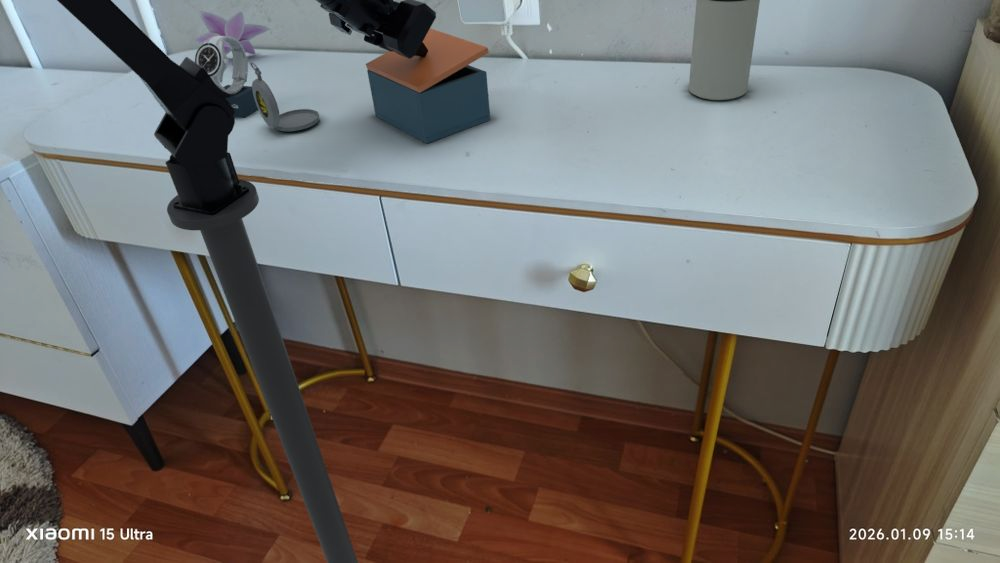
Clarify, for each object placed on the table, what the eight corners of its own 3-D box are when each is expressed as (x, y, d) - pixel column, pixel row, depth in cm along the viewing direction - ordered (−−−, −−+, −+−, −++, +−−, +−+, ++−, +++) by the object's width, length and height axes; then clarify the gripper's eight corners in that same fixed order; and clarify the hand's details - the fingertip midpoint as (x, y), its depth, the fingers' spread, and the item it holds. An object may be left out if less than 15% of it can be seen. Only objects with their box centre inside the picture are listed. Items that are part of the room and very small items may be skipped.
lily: (286, 61, 127) (269, 9, 126) (247, 55, 116) (227, -2, 115) (235, 82, 131) (217, 32, 130) (192, 79, 120) (172, 23, 118)
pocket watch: (329, 116, 100) (313, 47, 95) (297, 141, 94) (278, 68, 88) (281, 113, 103) (263, 46, 97) (247, 136, 97) (226, 66, 91)
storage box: (436, 95, 104) (430, 50, 100) (490, 120, 95) (486, 71, 91) (375, 116, 99) (366, 69, 95) (426, 143, 90) (419, 93, 86)
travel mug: (712, 106, 94) (728, -37, 83) (677, 88, 100) (687, -47, 89) (759, 93, 96) (780, -47, 85) (721, 77, 102) (737, -56, 91)
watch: (206, 119, 103) (181, 45, 97) (240, 100, 109) (219, 29, 103) (237, 122, 101) (213, 47, 95) (269, 102, 107) (249, 30, 101)
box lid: (432, 33, 99) (430, 28, 99) (489, 52, 90) (487, 47, 90) (367, 69, 95) (365, 63, 95) (419, 93, 86) (417, 87, 86)
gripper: (409, -73, 74) (498, 11, 85) (331, -85, 86) (417, -11, 98) (359, 20, 75) (453, 90, 86) (288, -6, 87) (379, 59, 99)
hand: (425, 53), depth 92 cm, fingers closed, pressing on box lid
